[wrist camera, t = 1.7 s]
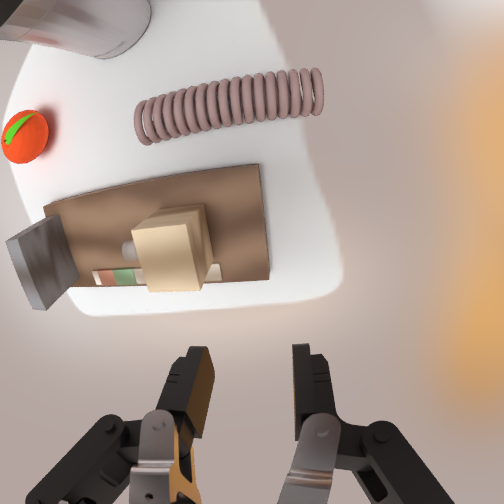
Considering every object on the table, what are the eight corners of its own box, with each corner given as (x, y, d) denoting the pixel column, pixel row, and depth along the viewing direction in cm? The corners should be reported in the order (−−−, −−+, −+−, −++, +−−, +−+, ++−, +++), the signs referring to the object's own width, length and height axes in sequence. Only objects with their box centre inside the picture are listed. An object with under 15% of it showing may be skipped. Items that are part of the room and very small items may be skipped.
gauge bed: (52, 202, 30) (1, 229, 21) (258, 163, 26) (250, 181, 17) (77, 280, 35) (38, 319, 25) (269, 270, 31) (267, 328, 22)
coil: (133, 151, 23) (334, 116, 20) (123, 105, 20) (327, 64, 18) (152, 142, 27) (324, 113, 24) (143, 103, 24) (317, 70, 22)
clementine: (51, 92, 23) (13, 93, 17) (70, 129, 25) (30, 135, 19) (22, 132, 25) (-13, 140, 19) (39, 168, 28) (3, 181, 21)
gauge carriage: (132, 213, 27) (103, 234, 22) (203, 203, 26) (185, 224, 21) (151, 282, 31) (130, 312, 25) (217, 279, 30) (205, 313, 24)
